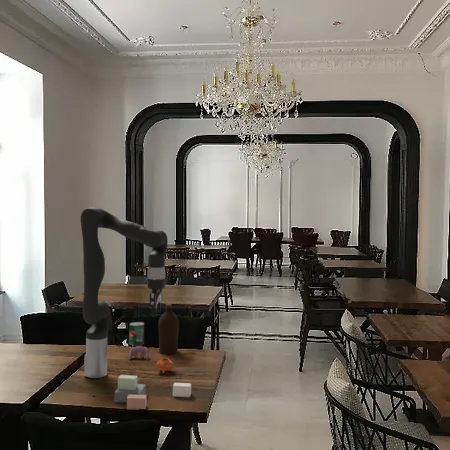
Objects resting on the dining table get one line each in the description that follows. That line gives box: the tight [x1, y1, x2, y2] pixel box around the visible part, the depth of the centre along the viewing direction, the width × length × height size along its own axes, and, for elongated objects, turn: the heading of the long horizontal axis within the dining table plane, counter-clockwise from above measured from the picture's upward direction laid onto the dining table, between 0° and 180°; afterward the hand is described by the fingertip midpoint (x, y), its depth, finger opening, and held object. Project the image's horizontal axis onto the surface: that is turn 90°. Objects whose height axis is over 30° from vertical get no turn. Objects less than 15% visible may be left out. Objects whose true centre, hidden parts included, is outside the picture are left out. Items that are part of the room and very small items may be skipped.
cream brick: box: [172, 382, 192, 398], centre depth 218 cm, size 7×4×4 cm, turn 85°
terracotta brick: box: [126, 394, 148, 410], centre depth 204 cm, size 7×4×4 cm, turn 90°
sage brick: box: [117, 374, 138, 390], centre depth 213 cm, size 7×4×4 cm, turn 85°
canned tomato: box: [128, 321, 145, 346], centre depth 290 cm, size 8×8×11 cm
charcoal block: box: [113, 383, 147, 404], centre depth 213 cm, size 10×10×4 cm
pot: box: [155, 357, 174, 374], centre depth 246 cm, size 8×8×7 cm
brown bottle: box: [157, 303, 180, 355], centre depth 276 cm, size 11×11×25 cm
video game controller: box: [128, 345, 150, 361], centre depth 265 cm, size 10×5×7 cm, turn 93°
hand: (155, 314), depth 229 cm, fingers open, 8 cm apart
